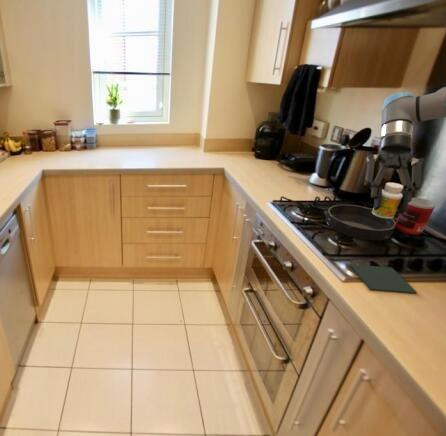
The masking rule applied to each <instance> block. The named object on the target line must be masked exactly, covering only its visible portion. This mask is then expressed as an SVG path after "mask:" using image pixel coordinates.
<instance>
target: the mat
mask: <svg viewBox="0 0 446 436" xmlns="http://www.w3.org/2000/svg"><path fill="white" fill-rule="evenodd" d="M350 267H351V269H352V270H353V271H354V272H355V274H356V275H357V276H358V277H359V278H360V280H361V281H362V282H363V284H364V285H365V286H366V287H367V288H368V290H369V291H376V292H386V293H387V292H388V293H400V294H410V295H411V294H414V295H416V294H417V291H416V290H415V289H414V288H413V287H412V286H411V284H409V283H408V282H407V281H406V280H405V279H404V278H403V277H402V276H401V275H400V273H398V271H396V270H395V269H394V268H393V267H392V266H391V267H390V266H376V265H364V264H350Z"/></svg>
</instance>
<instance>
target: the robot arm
mask: <svg viewBox="0 0 446 436" xmlns="http://www.w3.org/2000/svg"><path fill="white" fill-rule="evenodd" d="M442 118H446V86H443V87H441V88H440V89H438V90H436V91H435V92H432V93H427V94H423V95H419V96H415V94H414V93H412V92H410V91H405V92H404V91H397V92H395V93H392V94H390V95H388V96H387V97H386V98H385V99H384V101H383V106H382V109H381V120H380V121H381V124H380V134H379V144H378V153H377V154H373V153H369V154H368V155H367V157H365V162H366V170H365V177H364V183H363V184H364V185H363V186H365V188H366V187H369V190H371V192H370V198H371V199H373V207H374V210H378V209H379V208H380V207H381V197H382V190H383V186H380V185H381V182H382V181H383V179H384V177H385V174H386V172H387V171H388V169H393V170H396V173H397V174H398V177H399V179H400V183H401V185H402V186H403V189H402V191H401V192H400V193H402V195H403V197H402V199H401V201H400V204H399V207H398V208H399V209H398V214H399V215H400V214H403V213H404V212H406V211H407V205H408V203H409V202H410V201H411V200H412V198H413V193H417V191H420V189H422V177H423V176H422V175H423V174H422V171H423V170H422V169H423V168H422V166H423V163H424V162H425V158H423V157H421V158H416V157H414V156H413V154H412V147H413V146H412V145H413V130H414V129H413V127H414V123H421V122H424V121H425V122H426V121H431V120H436V119H442ZM376 161H378V162H379V163H380V167H379V169H378V173H377V175H376V176H375V178H374V173H375V172H374V171H375V164H376ZM408 163H411V176H410V172H409V169H408V168H409V167H408ZM373 180H374V181H373Z"/></svg>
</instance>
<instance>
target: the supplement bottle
mask: <svg viewBox="0 0 446 436" xmlns="http://www.w3.org/2000/svg"><path fill="white" fill-rule="evenodd" d="M402 191H403V186H402V184H400V183H397V182H386V183H385V185H384V189H383V188H382V197H381V207H380V208H379V209H378V210H374V206H373V208H372V209H373V210H372V213H373V214H374V215H375V216H378V217H381V218H392V219H394V218H395V215H396V213H397V210H398V208H399V207H400V201H401V199H402V197H403V195H402V193H401V192H402Z"/></svg>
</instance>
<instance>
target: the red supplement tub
mask: <svg viewBox="0 0 446 436" xmlns="http://www.w3.org/2000/svg"><path fill="white" fill-rule="evenodd" d="M435 207H436V204H435V203H434V202H432V201H431V200H429V199H425V198H421V197H420V198H419V197H412V200H411V201H410V202H409V203H408V205H407V211H406V212H404V213H403V214H400V213H399V215H398V217H397V219H396V220H395V222H396V227H395V230H397V231H398V232H400V233H403V234H406V235H409V236H410V235H411V236H419V235H421V234H422V233H423V232H424V230H425V228H426V227H427V226H426V225H428V222H429V220H430V218H431V216H432V214H433V212H434V210H435Z"/></svg>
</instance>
